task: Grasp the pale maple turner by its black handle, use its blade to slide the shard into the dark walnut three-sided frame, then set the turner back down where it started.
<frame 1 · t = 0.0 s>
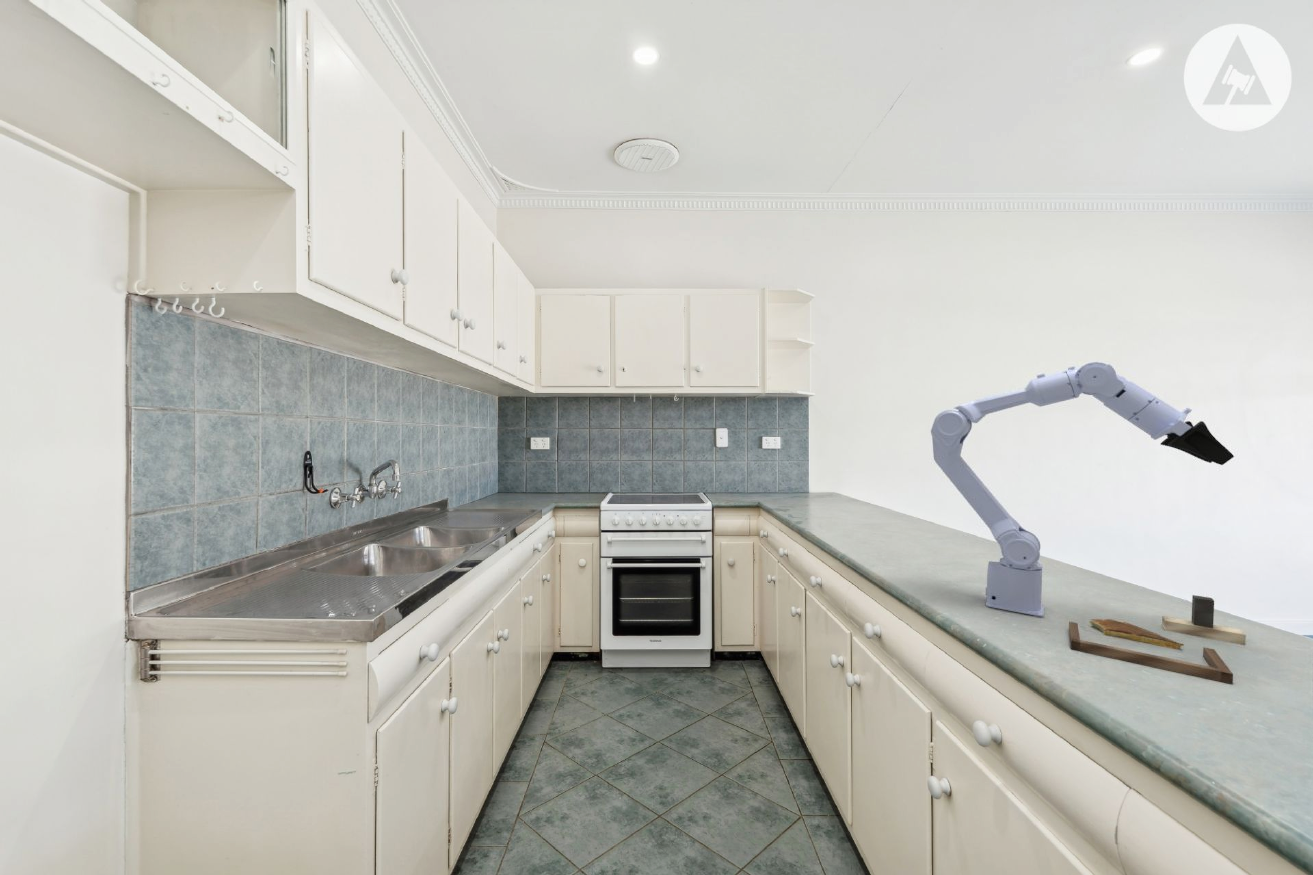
hand: (1221, 459, 88), 32 cm above the worktop, tool tilted 50°, fingers open, 7 cm apart
walnut frame: (1140, 652, 85), on the worktop
maple turner: (1201, 635, 93), on the worktop
shard: (1132, 637, 92), on the worktop
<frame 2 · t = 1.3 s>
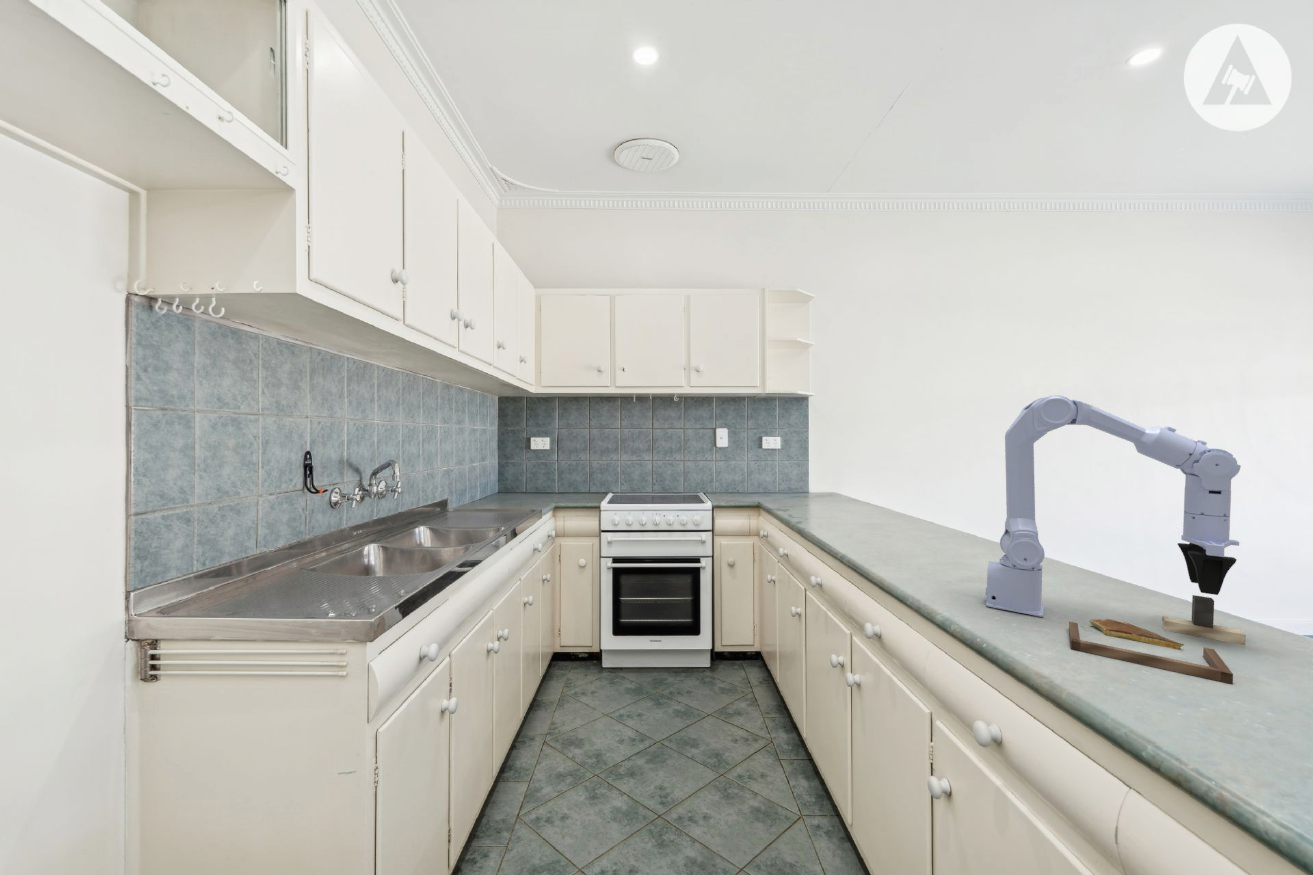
hand: (1203, 588, 92), 9 cm above the worktop, tool pointing down, fingers open, 7 cm apart
nothing on the worktop moved.
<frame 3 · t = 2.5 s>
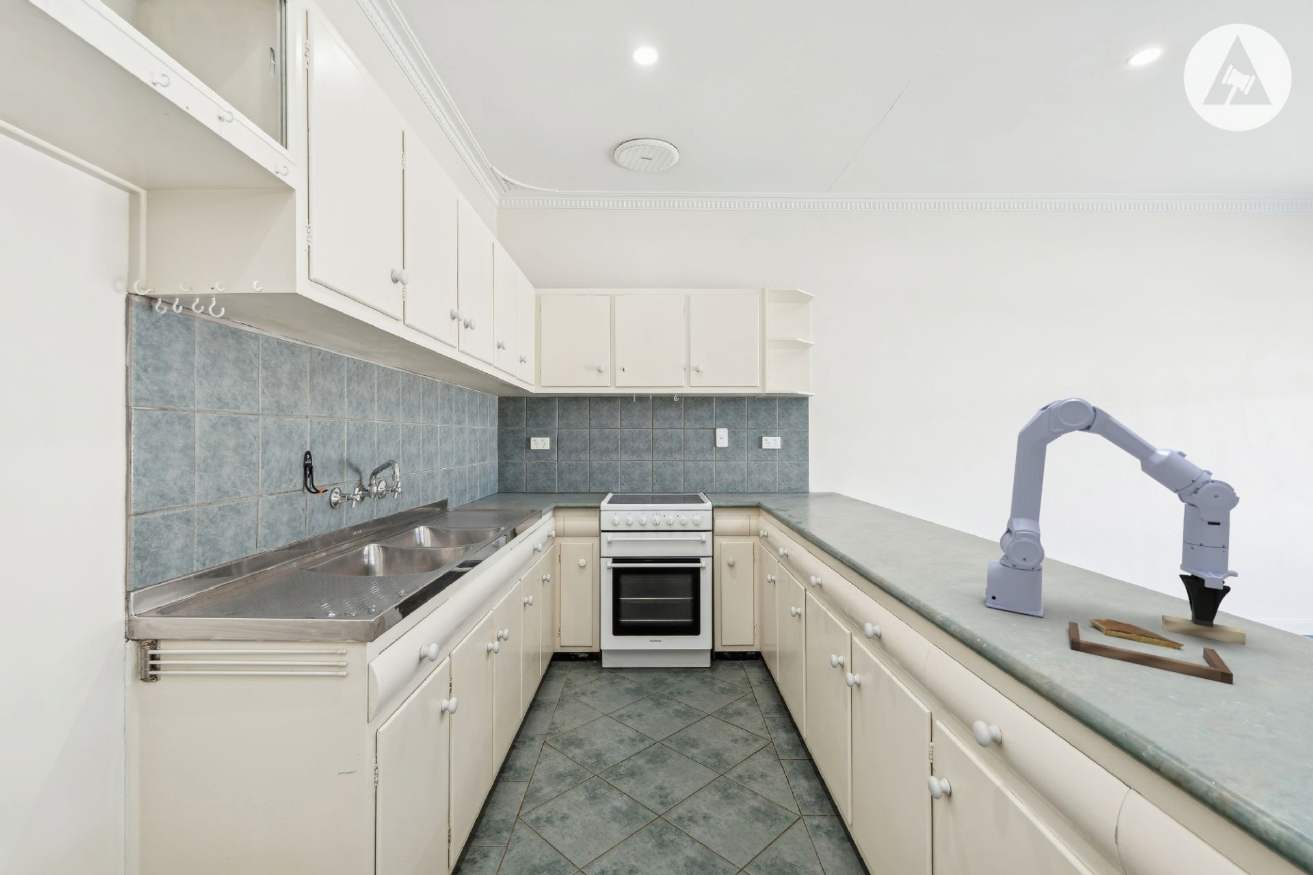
hand: (1202, 618, 93), 3 cm above the worktop, tool pointing down, fingers closed on maple turner, 2 cm apart
maple turner: (1201, 634, 93), on the worktop, touching gripper
everything else where it was.
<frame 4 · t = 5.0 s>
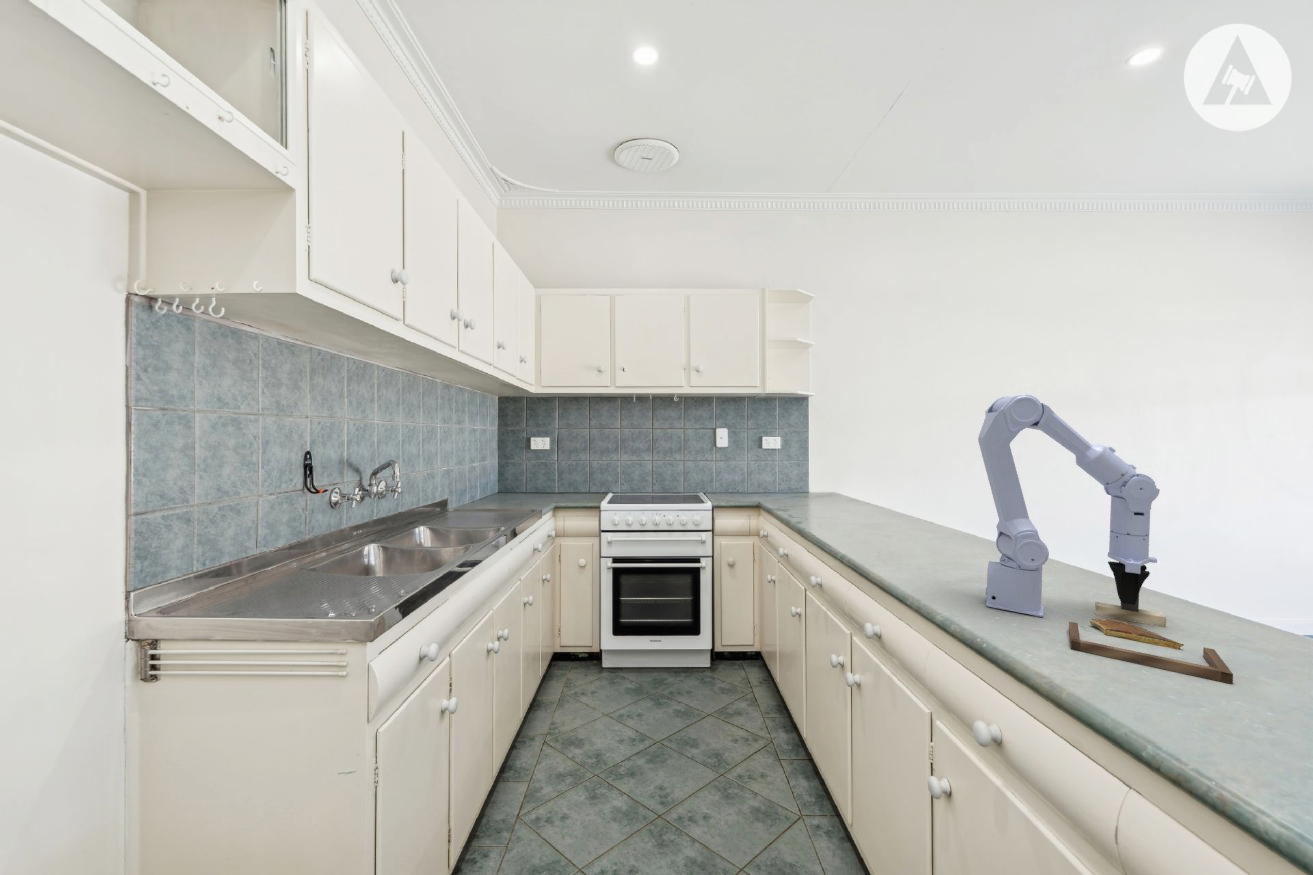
hand: (1126, 601, 100), 3 cm above the worktop, tool pointing down, fingers closed on maple turner, 2 cm apart
maple turner: (1128, 619, 100), on the worktop, touching gripper
everything else where it was.
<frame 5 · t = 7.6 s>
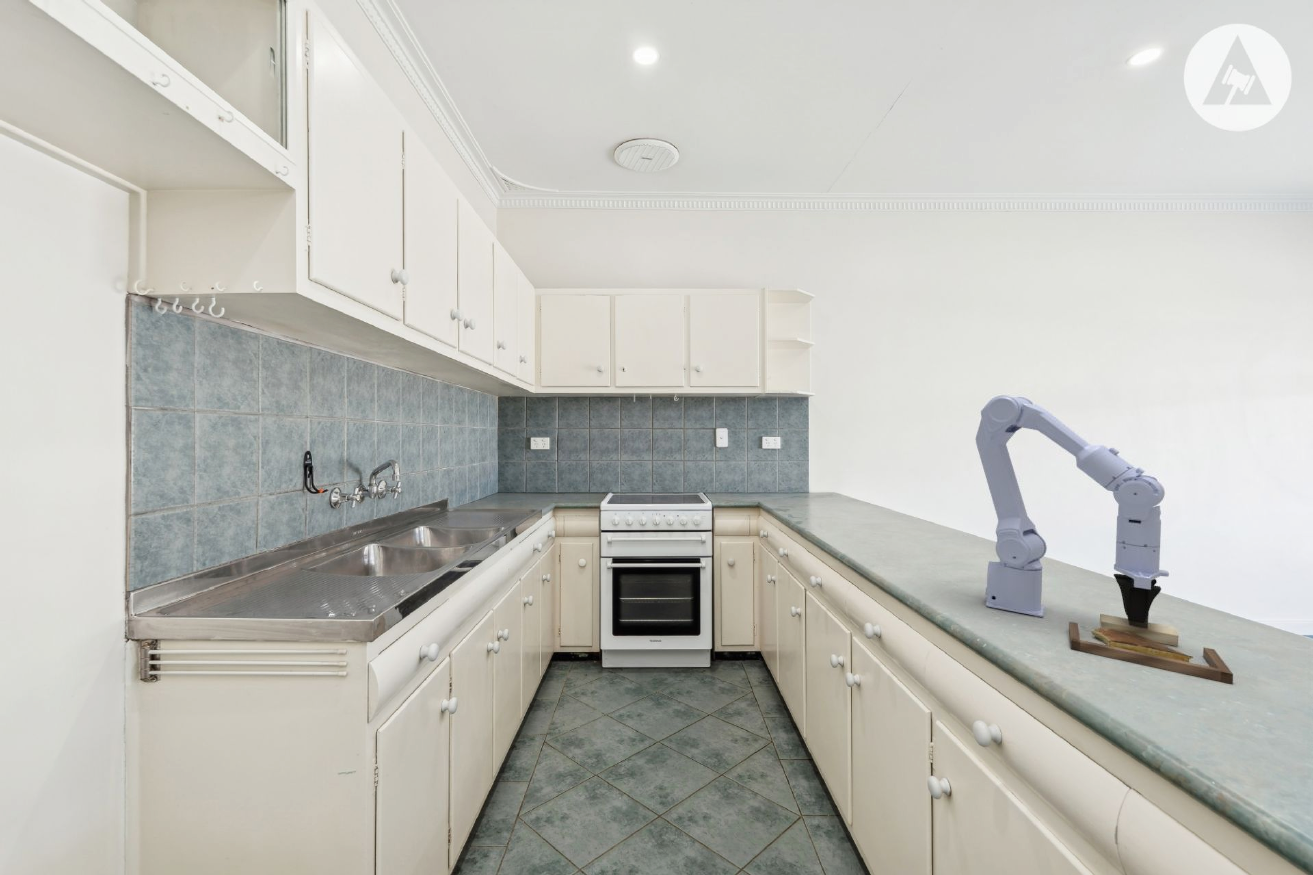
hand: (1135, 618, 91), 3 cm above the worktop, tool pointing down, fingers closed on maple turner, 3 cm apart
maple turner: (1136, 634, 92), on the worktop, tilted 11°, touching gripper
shard: (1137, 649, 87), on the worktop
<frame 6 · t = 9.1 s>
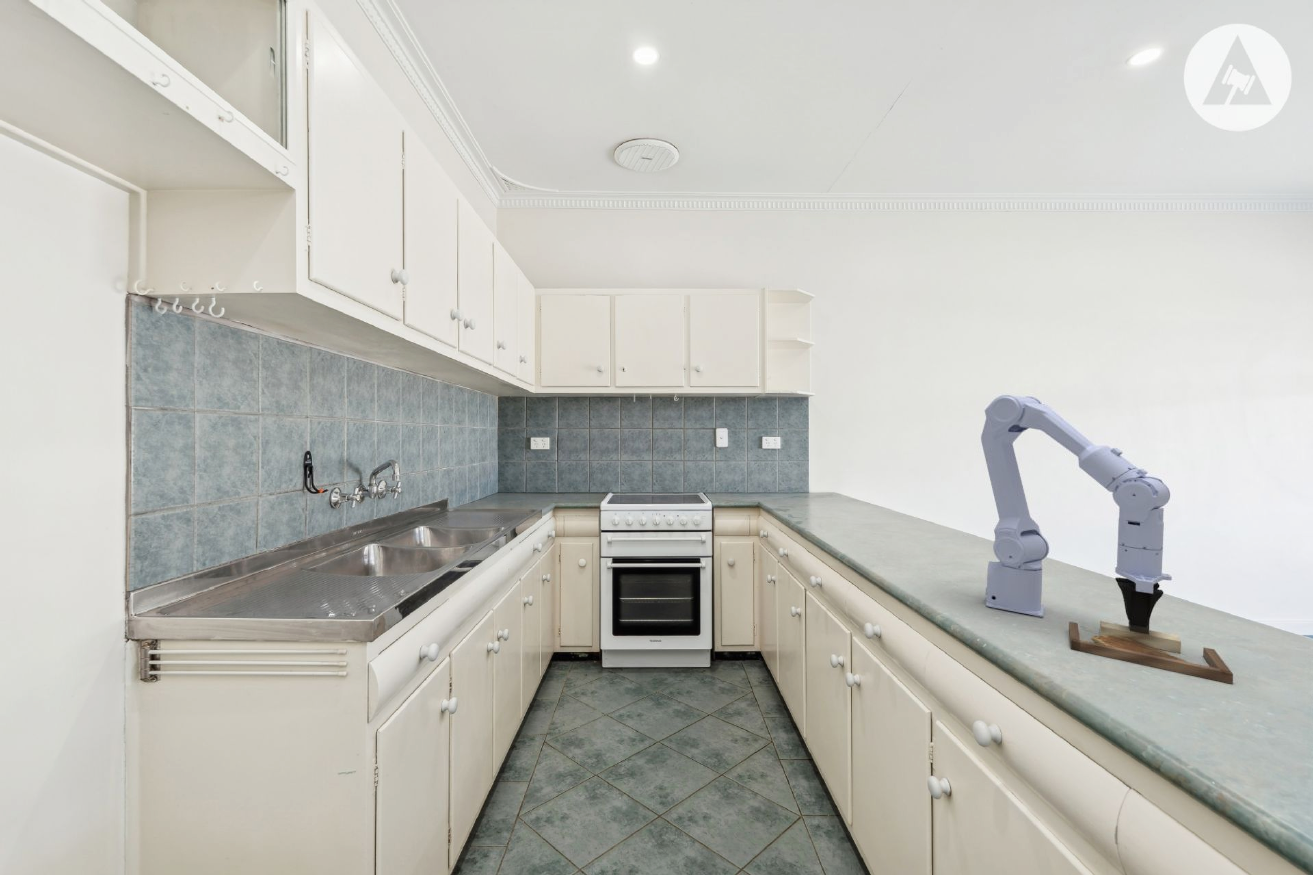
hand: (1136, 623, 89), 3 cm above the worktop, tool pointing down, fingers closed on maple turner, 2 cm apart
maple turner: (1138, 642, 89), on the worktop, touching gripper
shard: (1138, 656, 85), on the worktop
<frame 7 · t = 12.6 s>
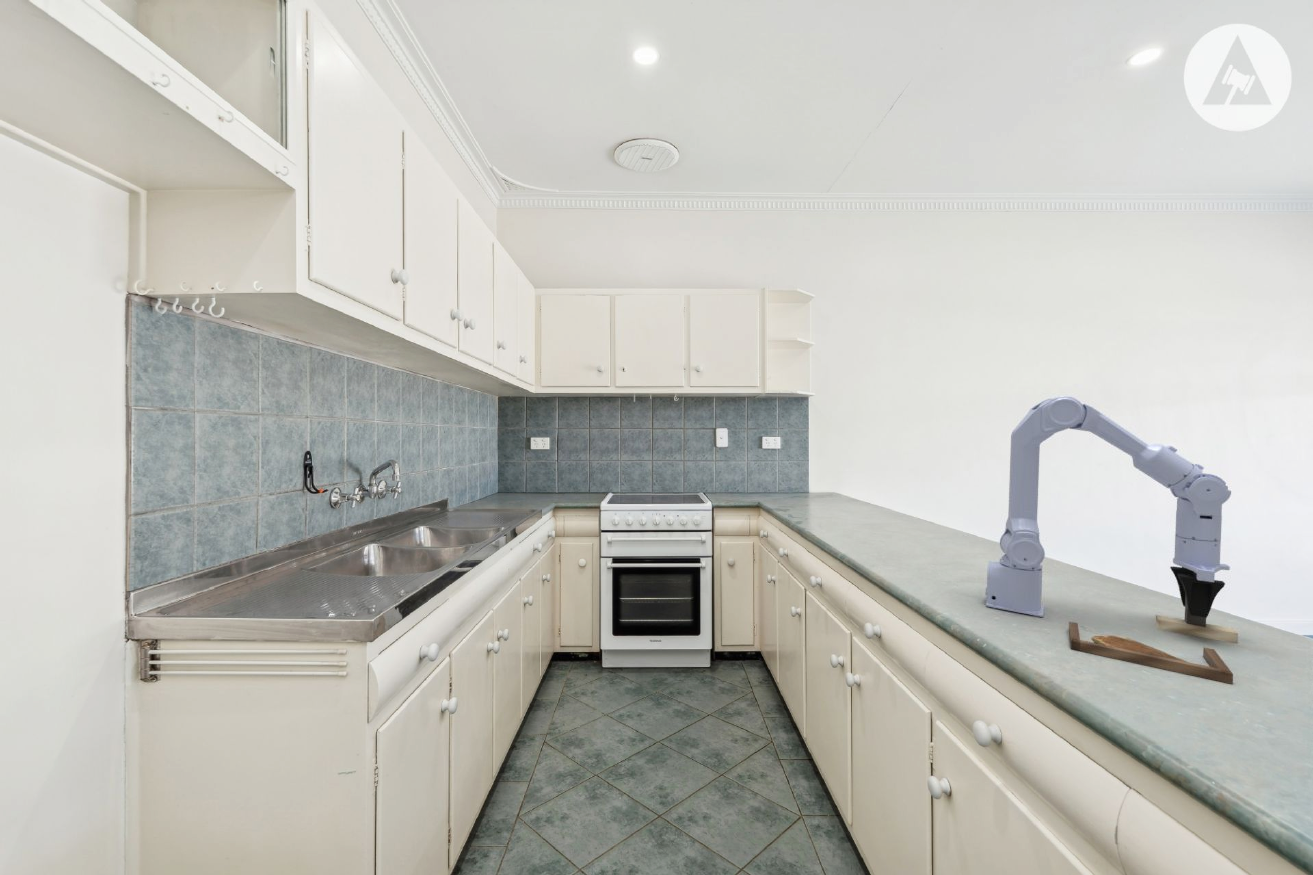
hand: (1194, 611, 93), 4 cm above the worktop, tool pointing down, fingers open, 5 cm apart
maple turner: (1194, 634, 93), on the worktop
everything else where it was.
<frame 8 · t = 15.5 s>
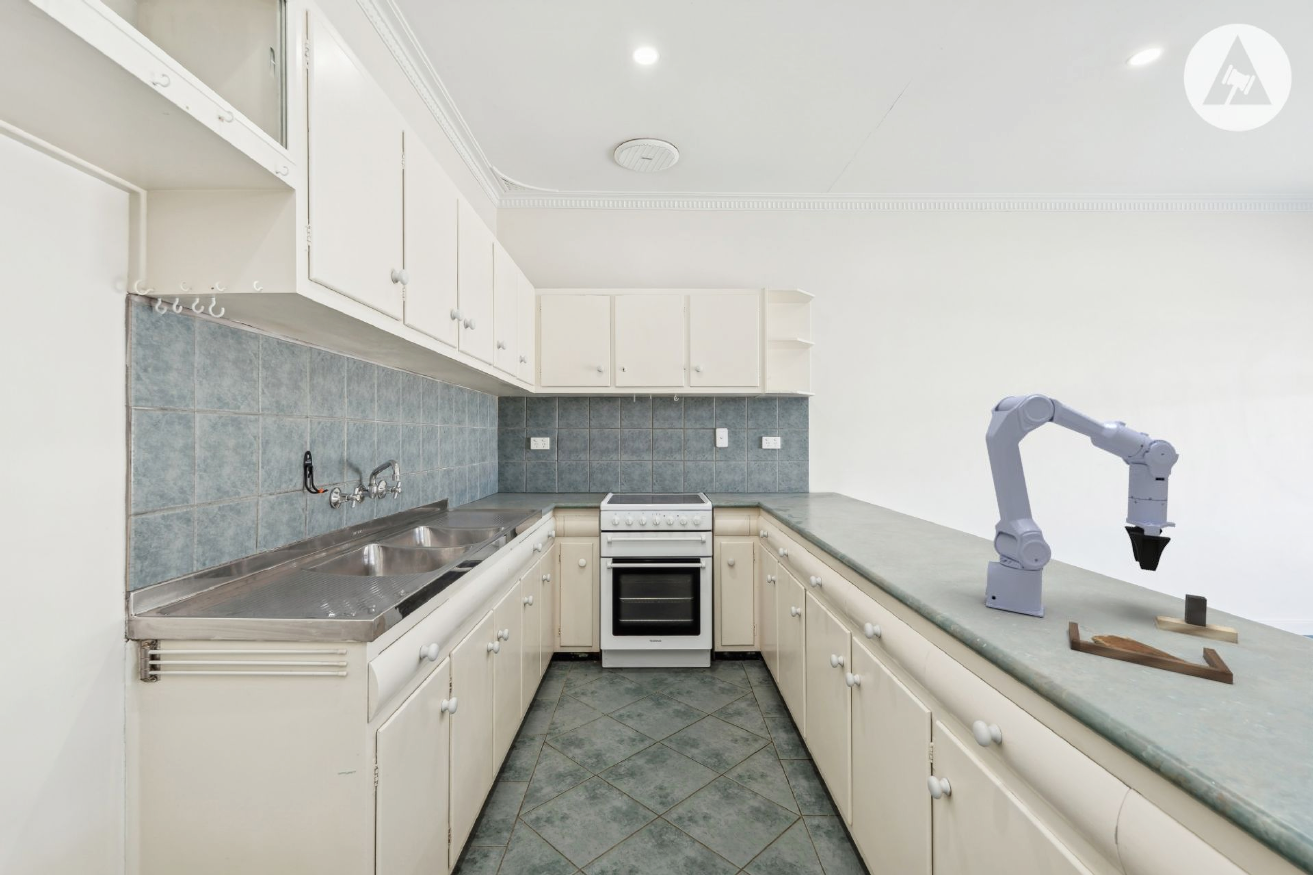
hand: (1145, 565, 102), 10 cm above the worktop, tool pointing down, fingers open, 7 cm apart
nothing on the worktop moved.
at the end: shard 0.4 cm from the target spot, on the worktop; the gripper is holding nothing; maple turner tilted 0° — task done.
